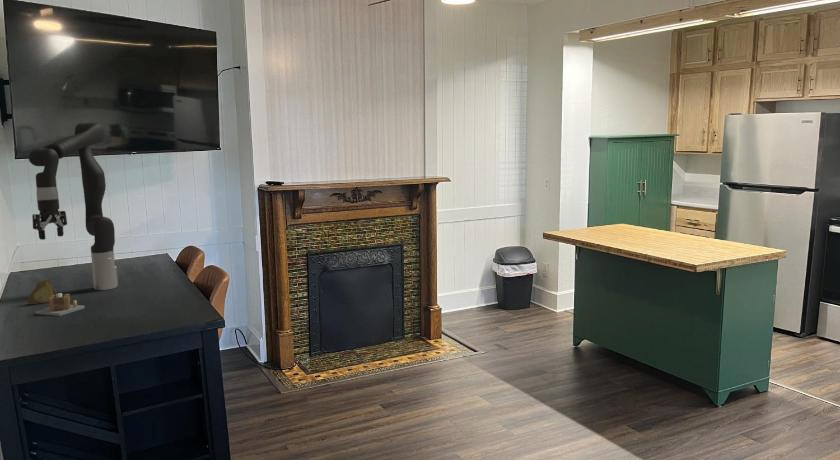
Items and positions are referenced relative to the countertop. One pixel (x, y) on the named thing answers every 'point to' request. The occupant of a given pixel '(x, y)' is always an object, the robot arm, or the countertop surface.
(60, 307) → the wooden square frame
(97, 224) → the robot arm
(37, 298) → the rock
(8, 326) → the countertop surface
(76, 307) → the post board
